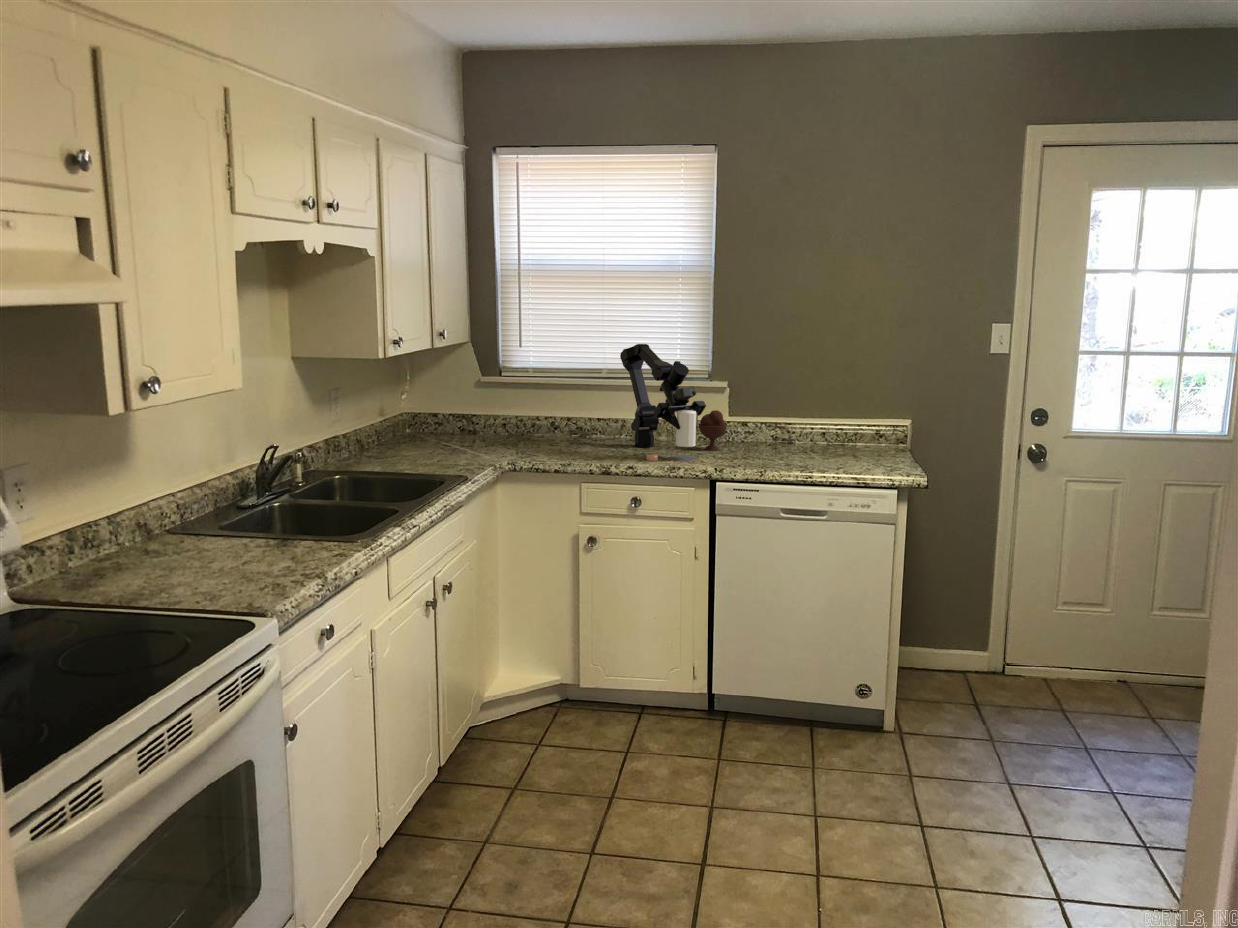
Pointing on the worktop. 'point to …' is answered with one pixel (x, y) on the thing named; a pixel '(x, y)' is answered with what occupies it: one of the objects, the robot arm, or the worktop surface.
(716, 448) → the ice cream bowl
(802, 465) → the worktop surface
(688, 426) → the tumbler
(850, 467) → the worktop surface
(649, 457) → the pink rounded block
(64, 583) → the worktop surface
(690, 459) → the mat
